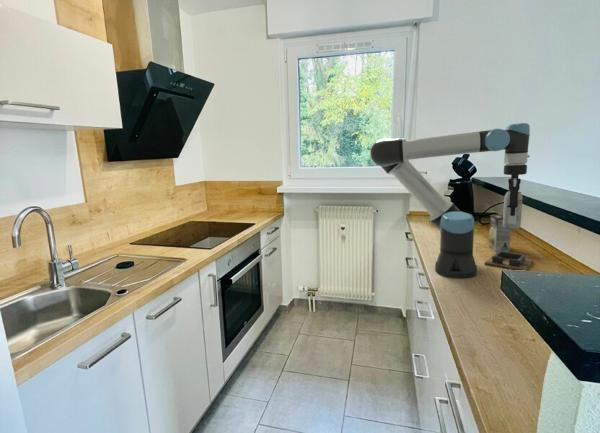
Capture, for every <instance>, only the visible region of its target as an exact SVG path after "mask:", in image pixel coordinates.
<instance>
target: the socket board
mask: <svg viewBox="0 0 600 433" xmlns="http://www.w3.org/2000/svg"><path fill="white" fill-rule="evenodd" d="M526 255H527V254H522V253H518V252H516V253H515V252H510V251H509V252H504V251H498V252H496V253H494V254H493V255H492V256H491V257H490V258H488V259H487V260H486V261H484V263H483V264H484V266H489V267H493V268H494V267H495V268H499V269H503V270H509V269H511V270H510V271H515V270H526V271H527V270H528V269H529V267H530V266H531V265H532V264H533V261H534V260H533V259H529V258H528V259H527V258H526Z"/></svg>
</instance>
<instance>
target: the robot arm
mask: <svg viewBox="0 0 600 433" xmlns="http://www.w3.org/2000/svg"><path fill="white" fill-rule="evenodd" d="M530 128H531V126H530V124H529V123H527V122H523V123H522V122H521V123H511V124H507V125H506V128H505V129H503V128H493V129H489V130H488V129H487V130H481V131H472V132H463V133H456V134H448V135H440V136H439V135H438V136H432V137H424V138H423V137H422V138H415V139H408V140H407V139H405V138H404V137H402V138H380V139H378V140H376V141H375V142H374V143H373V145H372V146H371V148H370V151H369V152H370V159H371V161H373V163H374V164H375V165H377V166H378V167H380V168H382V169H383V171H384V172H385V173H386V174H387V175H392V176H394V177H395V178H396V179H397V181H399V183H400V184H401V185H403V187H404V188H405V189H406V190H407V191H408V192H409V193H410V195H411V196H412V197H414V199H415V200H416V201H417V202H418V203H419V204H420V205H421V206H422V207H423V209H425V211H426V212H427V213H428V214H429V220H430V221H431V222H432V223H433V225H434V226H435V227H436V229H438V230H439V232H440V233H439V234H440V241H439V242H440V246H439V247H440V248H439V250H440V252H439V254H438V257H437V261H436V262H435V265H434V266H435V267H434V270H435V272H436V273H437V274H439V275H440V276H444V277H448V278H453V279H470V278H471V279H472V278H474V277H476V276H477V274H478V266H477V265H476V262H475V261H476V260H475V258H474V235H475V233H474V232H475V223H476V222H475V218H474V216H473V215H472V214H470V213H467V212H464V211H461V210H460V209H459V207H457V206H456V204H454V202H451V201H446V199H445V198H444V197H443V196H442V195H441V194H440V193H439V192H438V190H436V189H435V188H434V187H433V186H432V184H430V182H429V181H428V180H427V179H426V178H425V177H424V176H423V175H422V173H420V171H418V170H417V169H416V167H415V166H414V165H413V164H412V163H411V162H410V161H409V160H418V159H428V158H434V157H435V158H437V157H446V156H456V155H466V154H473V153H474V154H475V153H484V152H485V153H488V152H498V151H503V150H504V158H503V159H504V160H503V163H504V164H505V165H504V166H503V174H504V175H505V176H510V178H508V180H507V181H508V191H510V204H509V206H507V207H509V212H508V223H509V224H516V216H517V206H518V205H517V202H518V192H519V191H520V188H521V187H520V185H521V182H522V180H521V178H519V176H520V175H521V176H522V175H523V176H524V175H526V174H527V172H528V171H527V170H528V165H527V163H528V158H530V157H531V156H530V155H529V143H530V136H531V134H530V131H531V130H530Z"/></svg>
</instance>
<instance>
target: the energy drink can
mask: <svg viewBox="0 0 600 433" xmlns="http://www.w3.org/2000/svg"><path fill="white" fill-rule="evenodd" d="M503 199H504V200H503V212H502V213H503V227H504V229H508V230H511V231H517V230H519V229H520V228H521V224H522V222H521V221H522V210H523V199H524V198H523V194H522V192H521V191H518V202H517V205H518V206H517V216H516V224H509V223H508V212H509V207H507V206H509V204H510V190H508V191H506V193H505V195H504V198H503Z"/></svg>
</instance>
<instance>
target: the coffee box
mask: <svg viewBox="0 0 600 433" xmlns="http://www.w3.org/2000/svg"><path fill="white" fill-rule="evenodd" d="M511 232H512V230H508V229H504V227H503V214H490V215H489V234H488V247H489V248H490V249H491V250H493V252H496V253H497V252H498V251H504V252H510V248H511V236H512V235H511V234H512V233H511Z"/></svg>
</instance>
